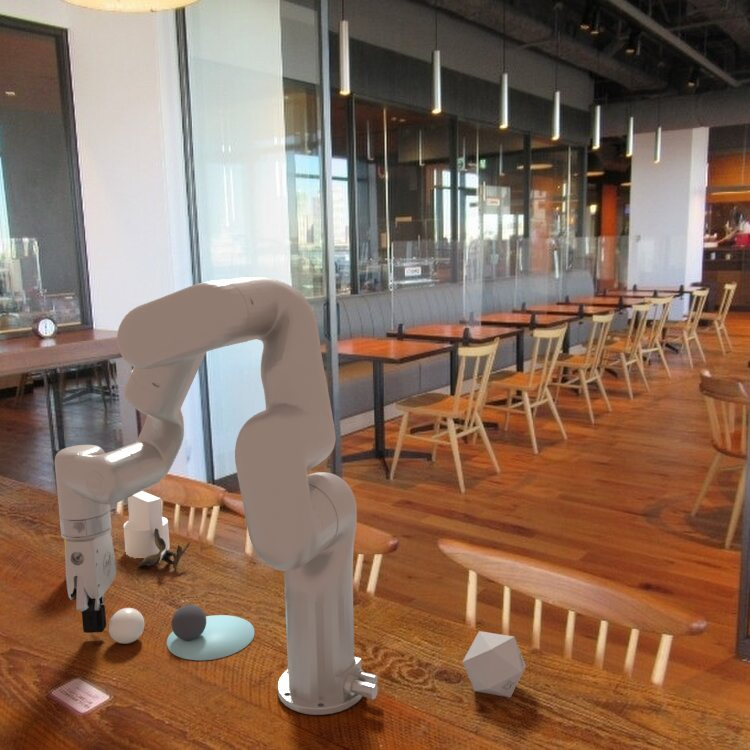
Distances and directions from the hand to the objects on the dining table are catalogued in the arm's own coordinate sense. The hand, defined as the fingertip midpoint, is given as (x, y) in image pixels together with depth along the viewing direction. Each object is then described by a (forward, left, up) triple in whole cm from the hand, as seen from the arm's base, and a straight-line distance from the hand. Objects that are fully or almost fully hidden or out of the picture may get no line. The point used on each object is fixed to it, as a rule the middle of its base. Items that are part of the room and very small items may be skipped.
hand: (95, 629), depth 120 cm
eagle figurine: (+11, -26, -2) cm, 28 cm away
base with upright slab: (+19, -31, -2) cm, 37 cm away
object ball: (-14, -7, +1) cm, 16 cm away
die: (-63, -15, -2) cm, 65 cm away
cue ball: (-5, -2, +1) cm, 6 cm away
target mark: (-17, -9, -2) cm, 19 cm away
